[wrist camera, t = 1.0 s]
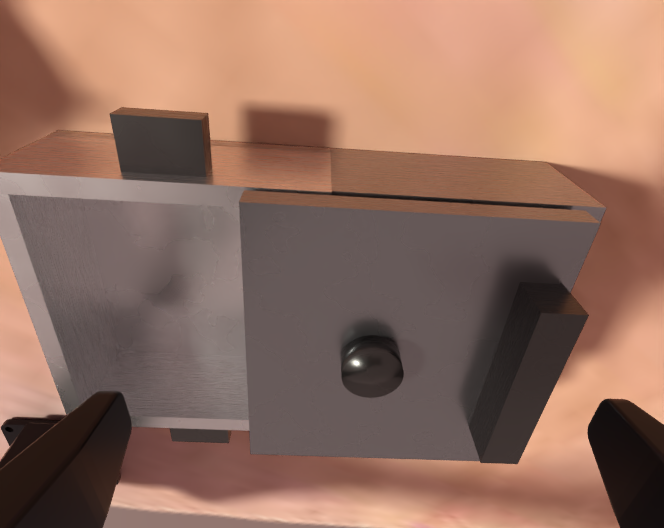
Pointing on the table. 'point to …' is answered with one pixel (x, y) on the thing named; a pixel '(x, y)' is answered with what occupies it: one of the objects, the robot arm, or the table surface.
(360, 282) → the lid
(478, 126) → the table surface
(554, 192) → the grey rectangular box
